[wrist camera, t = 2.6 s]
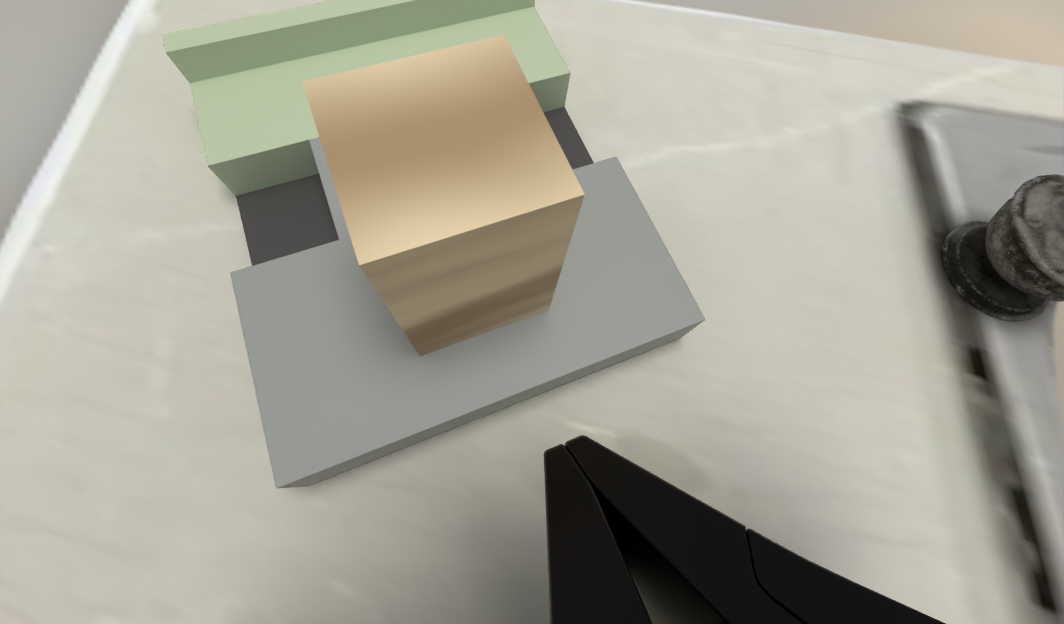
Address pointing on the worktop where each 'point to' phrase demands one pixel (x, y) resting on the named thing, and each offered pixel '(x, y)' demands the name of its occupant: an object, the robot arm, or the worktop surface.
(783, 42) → the worktop surface
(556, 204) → the beech block
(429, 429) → the board
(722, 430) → the worktop surface
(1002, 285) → the salt shaker
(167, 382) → the worktop surface
